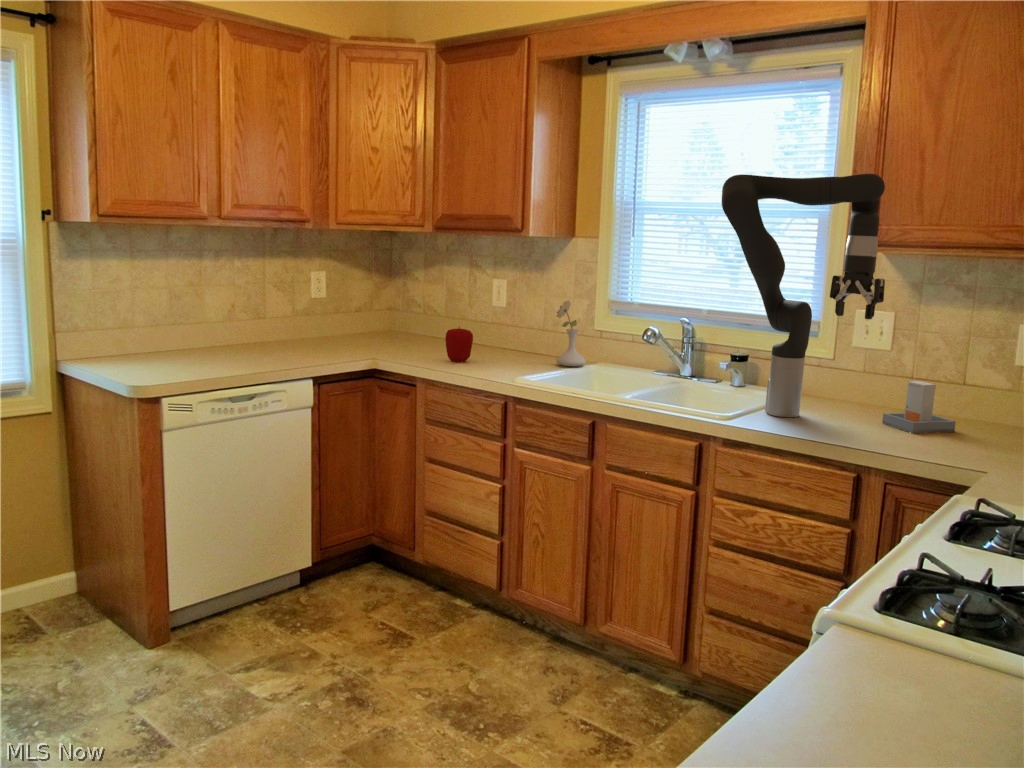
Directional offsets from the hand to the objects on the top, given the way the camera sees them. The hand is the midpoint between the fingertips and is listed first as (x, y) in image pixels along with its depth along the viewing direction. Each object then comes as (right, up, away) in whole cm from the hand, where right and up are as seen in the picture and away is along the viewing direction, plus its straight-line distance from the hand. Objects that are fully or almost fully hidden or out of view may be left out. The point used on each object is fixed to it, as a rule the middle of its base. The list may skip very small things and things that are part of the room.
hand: (853, 317), depth 228 cm
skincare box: (+25, -29, +18) cm, 42 cm away
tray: (+25, -29, +18) cm, 43 cm away
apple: (-109, -9, +105) cm, 152 cm away
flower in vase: (-67, -11, +104) cm, 125 cm away
